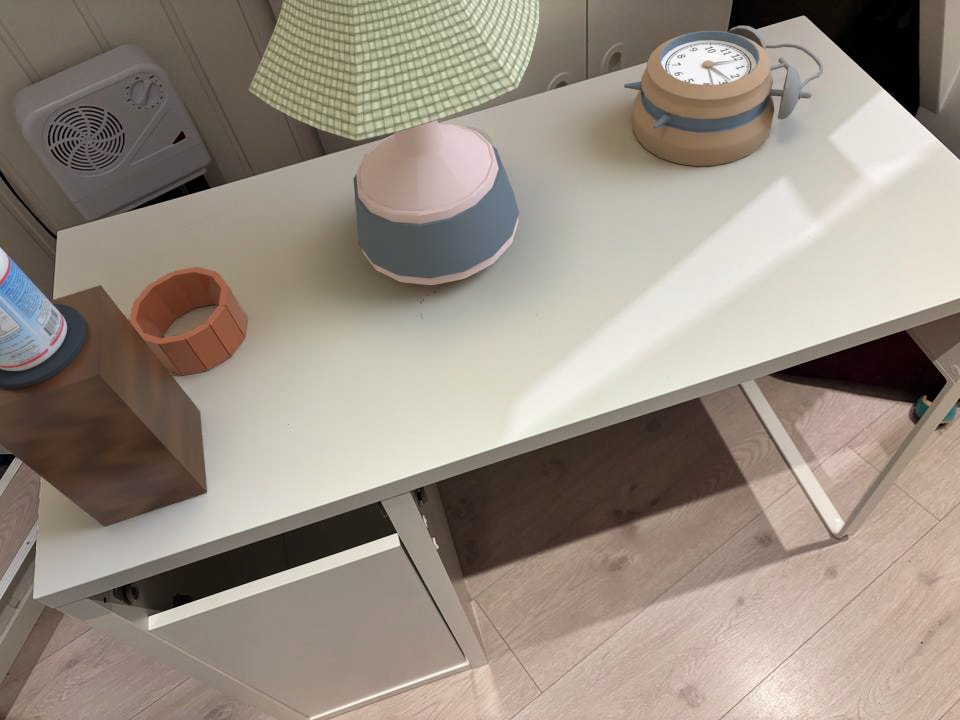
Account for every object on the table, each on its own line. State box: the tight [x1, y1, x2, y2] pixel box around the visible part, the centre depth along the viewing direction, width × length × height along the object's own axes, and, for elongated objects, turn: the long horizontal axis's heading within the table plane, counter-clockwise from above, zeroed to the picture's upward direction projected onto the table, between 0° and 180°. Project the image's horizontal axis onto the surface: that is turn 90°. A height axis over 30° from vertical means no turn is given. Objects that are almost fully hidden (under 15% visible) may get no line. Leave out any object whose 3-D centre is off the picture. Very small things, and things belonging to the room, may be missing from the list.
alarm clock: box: [623, 25, 824, 167], centre depth 91 cm, size 17×9×23 cm
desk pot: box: [128, 266, 248, 376], centre depth 81 cm, size 11×11×6 cm
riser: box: [0, 284, 208, 527], centre depth 66 cm, size 10×10×19 cm
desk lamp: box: [248, 0, 540, 286], centre depth 72 cm, size 26×28×42 cm
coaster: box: [0, 304, 87, 389], centre depth 58 cm, size 8×8×1 cm
